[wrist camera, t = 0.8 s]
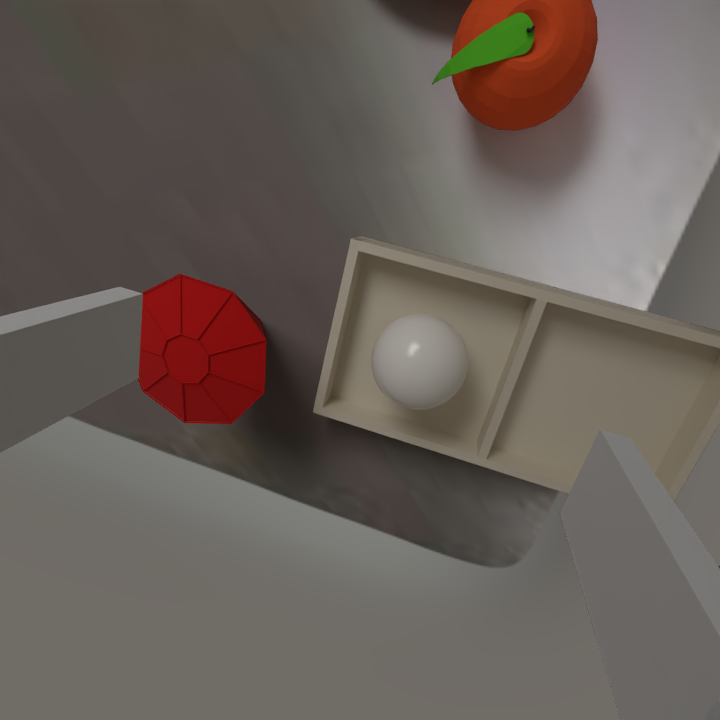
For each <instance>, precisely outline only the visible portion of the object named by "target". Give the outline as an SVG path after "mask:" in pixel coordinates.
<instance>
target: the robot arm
mask: <svg viewBox="0 0 720 720" xmlns="http://www.w3.org/2000/svg"><path fill="white" fill-rule="evenodd" d="M142 301H143V294H142V293H139V292H135V291H132V290H128V289H125V288H122V287H117V288H113V289H109V290H105V291H101V292H97V293H93V294H89V295H85V296H81V297H77V298H73V299H69V300H65V301H61V302H57V303H53V304H49V305H45V306H41V307H37V308H33V309H29V310H25V311H21V312H17V313H13V314H9V315H5V316H1V317H0V452H2V451H4V450H6V449H8V448H10V447H12V446H13V445H15V444H17V443H19V442H21V441H23V440H25V439H26V438H28V437H30V436H32V435H33V434H36V433H38V432H39V431H41V430H43V429H44V428H47V427H49V426H50V425H52V424H54V423H56V422H58V421H60V420H62V419H63V418H65V417H67V416H69V415H71V414H73V413H75V412H76V411H78V410H80V409H82V408H84V407H86V406H88V405H89V404H91V403H93V402H95V401H97V400H99V399H101V398H102V397H104V396H106V395H108V394H110V393H112V392H113V391H115V390H117V389H119V388H121V387H123V386H125V385H126V384H128V383H130V382H132V381H134V380H136V379H138V376H139V357H140V339H141V320H142ZM560 517H561V520H562V524H563V527H564V530H565V534H566V537H567V541H568V544H569V547H570V551H571V554H572V558H573V561H574V565H575V568H576V571H577V575H578V578H579V582H580V585H581V588H582V592H583V595H584V599H585V602H586V605H587V609H588V613H589V616H590V619H591V623H592V626H593V630H594V633H595V636H596V640H597V643H598V646H599V650H600V653H601V656H602V660H603V664H604V667H605V671H606V674H607V677H608V681H609V684H610V688H611V691H612V695H613V698H614V701H615V705H616V708H617V712H618V715H619V718H620V720H720V566H718V565H717V564H716V562H715V561H714V559H713V558H712V556H711V555H710V553H709V552H708V551H707V549H706V548H705V546H704V545H703V543H702V542H701V540H700V539H699V537H698V536H697V534H696V533H695V532H694V530H693V529H692V527H691V526H690V524H689V523H688V521H687V520H686V518H685V517H684V515H683V514H682V512H681V511H680V510H679V508H678V507H677V505H676V504H675V502H674V501H673V499H672V498H671V496H670V495H669V493H668V492H667V491H666V489H665V488H664V486H663V485H662V483H661V482H660V480H659V479H658V477H657V476H656V474H655V473H654V472H653V470H652V469H651V467H650V466H649V464H648V463H647V461H646V460H645V458H644V457H643V455H642V454H641V453H640V451H639V450H638V448H637V447H636V445H635V444H634V442H633V441H632V439H631V438H629V437H626V436H622V435H619V434H615V433H612V432H609V431H605V430H602V429H600V430H599V432H598V434H597V436H596V438H595V440H594V442H593V445H592V447H591V449H590V451H589V453H588V455H587V457H586V459H585V461H584V463H583V465H582V468H581V470H580V472H579V474H578V476H577V478H576V480H575V482H574V484H573V486H572V488H571V490H570V493H569V495H568V497H567V499H566V501H565V503H564V505H563V507H562V509H561V512H560Z"/></svg>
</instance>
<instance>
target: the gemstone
mask: <svg viewBox="0 0 720 720" xmlns="http://www.w3.org/2000/svg"><path fill="white" fill-rule="evenodd" d="M178 276H179V277H178ZM176 277H177V278H176ZM174 278H175V279H174ZM172 279H173V280H172ZM170 280H171V281H170ZM168 281H169V282H168ZM166 282H167V283H166ZM164 283H165V284H164ZM162 284H163V285H162ZM160 285H161V286H160ZM158 286H159V287H158ZM156 287H157V288H156ZM154 288H155V289H154ZM152 289H153V290H152ZM150 290H151V291H150ZM148 291H149V292H148ZM146 292H147V293H146ZM144 293H145V294H144ZM142 294H143V301H142V320H141V339H140V357H139V377H140V379H139V377H138V381H139V383H140V386H141V388H142V391H143V392H144V393H145V394H147V395H148V396H149V397H151V398H152V399H153V400H155V401H156V402H157V403H159V404H160V405H161V406H163V407H164V408H165V409H167V410H168V411H169V412H171V413H172V414H173V415H175V416H176V417H177V418H178V419H180V420H181V421H182V422H184V423H211V424H232V423H233V422H234V421H235V420H236V419H237V418H238V417H239V416H240V415H241V414H242V413H244V412H245V411H246V410H247V409H248V408H249V407H250V406H251V405H252V404H253V403H254V402H255V401H256V400H257V399H258V398H259V397H260V396H262V395H263V394H264V393H265V366H266V337H265V334H264V330H263V327H262V324H261V320H260V319H259V318H258V317H257V316H256V315H255V314H254V313H253V312H252V311H251V310H250V309H249V308H248V307H247V306H246V305H245V304H244V302H243V301H242V300H241V299H240V298H239V297H238V296H237V295H236V294H235V293H234V292H233V291H230V290H227V289H224V288H221V287H218V286H215V285H212V284H209V283H206V282H203V281H200V280H197V279H194V278H191V277H188V276H185V275H182V274H178V275H176V276H174V277H172V278H170V279H168V280H166V281H164V282H163V283H161V284H159V285H157V286H155V287H153V288H151V289H149V290H147V291H145V292H143V293H142ZM140 380H141V382H140ZM141 383H142V384H141ZM142 385H143V387H142ZM143 388H144V389H143ZM145 391H146V392H147V393H146V392H145ZM262 392H263V393H262ZM148 393H149V394H150V395H151V396H150V395H149V394H148ZM152 396H153V397H154V398H155V399H154V398H153V397H152ZM156 399H157V400H158V401H159V402H158V401H157V400H156ZM160 402H161V403H162V404H163V405H162V404H161V403H160ZM164 405H165V406H166V407H167V408H166V407H165V406H164ZM168 408H169V409H170V410H171V411H170V410H169V409H168ZM245 408H246V409H245ZM244 409H245V410H244ZM243 410H244V411H243ZM172 411H173V412H174V413H175V414H174V413H173V412H172ZM242 411H243V412H242ZM176 414H177V415H178V416H179V417H178V416H177V415H176ZM181 418H182V419H183V420H184V421H183V420H182V419H181ZM190 421H208V422H190ZM229 422H230V423H229Z"/></svg>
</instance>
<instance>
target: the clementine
mask: <svg viewBox="0 0 720 720" xmlns="http://www.w3.org/2000/svg"><path fill="white" fill-rule="evenodd" d="M597 40H598V38H597V17H596V14H595V11H594V8H593V5H592V1H591V0H472V2H471V4H470V5H469V7H468V8H467V10H466V12H465V13H464V15H463V16H462V19H461V22H460V24H459V27H458V30H457V33H456V36H455V38H454V41H453V48H452V56H451V59H450V60H449V61H448V62H447V63H446V65H445V66H444V67H443V68H442V69H441V70H440V71H439V73H438V74H437V76H436V78H435V79H434V81H433V83H432V84H434V83H435V82H437V81H439V80H440V79H443V78H445V77H448V76H450V75H452V80H453V84H454V87H455V89H456V92H457V95H458V97H459V100H460V101H461V102H462V104H463V105H464V106H465V108H466V109H467V110H468V112H469V113H470V114H471V115H472V116H474V117H475V118H476V119H478V120H479V121H480V122H482V123H483V124H485V125H488V126H490V127H493V128H496V129H499V130H520V129H525V128H529V127H534V126H537V125H539V124H541V123H543V122H545V121H547V120H548V119H550V118H552V117H554V116H555V115H556V114H557V113H559V112H560V111H561V110H562V109H563V108H564V107H566V106H567V105H568V104H569V103H570V102H571V100H572V99H573V98H574V96H575V95H576V94H577V92H578V91H579V90H580V88H581V87H582V85H583V83H584V81H585V79H586V76H587V74H588V72H589V70H590V68H591V65H592V63H593V59H594V54H595V50H596V45H597Z"/></svg>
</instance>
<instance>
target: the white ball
mask: <svg viewBox="0 0 720 720" xmlns="http://www.w3.org/2000/svg"><path fill="white" fill-rule="evenodd" d="M371 366H372V373H373V376H374V379H375V381H376V383H377V385H378V387H379V389H380V390H381V391H382V393H383V394H384V395H385V396H386V397H387V398H388V399H390V400H391V401H392V402H394V403H396V404H397V405H399V406H402V407H405V408H408V409H413V410H426V409H432V408H435V407H438V406H440V405H442V404H444V403H446V402H447V401H449V400H450V399H451V398H452V397H453V396H455V395H456V393H457V392H458V391H459V390H460V388H461V386H462V385H463V383H464V381H465V378H466V375H467V371H468V353H467V349H466V346H465V343H464V341H463V339H462V337H461V335H460V334H459V333H458V331H457V330H456V329H455V328H454V327H453V326H452V325H451V324H449V323H448V322H446V321H445V320H443V319H441V318H439V317H436V316H433V315H429V314H411V315H406V316H403V317H401V318H398V319H396V320H395V321H393V322H392V323H390V324H389V325H388V326H387V327H386V328H385V329H384V330H383V331H382V332H381V333H380V335H379V336H378V338H377V340H376V342H375V344H374V347H373V351H372V356H371Z"/></svg>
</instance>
